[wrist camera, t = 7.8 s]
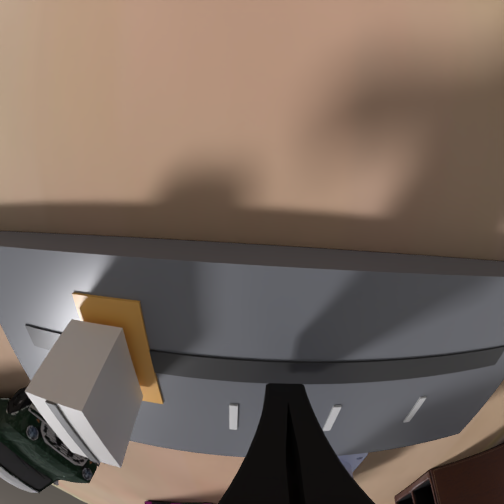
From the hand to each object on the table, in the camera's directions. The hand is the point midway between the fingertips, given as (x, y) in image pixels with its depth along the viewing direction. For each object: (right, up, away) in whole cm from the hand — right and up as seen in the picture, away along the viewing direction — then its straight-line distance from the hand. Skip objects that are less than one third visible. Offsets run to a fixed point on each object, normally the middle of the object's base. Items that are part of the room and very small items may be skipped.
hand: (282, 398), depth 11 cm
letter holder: (+28, -24, +15) cm, 40 cm away
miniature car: (-23, -11, +10) cm, 28 cm away
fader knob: (-7, +1, +1) cm, 7 cm away
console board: (0, 0, +3) cm, 4 cm away
